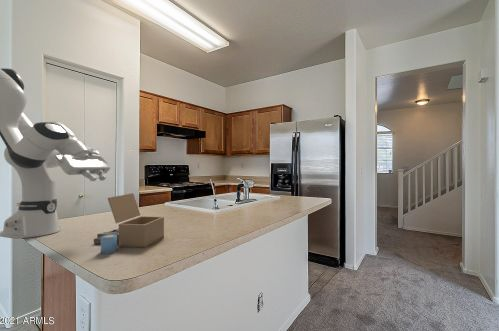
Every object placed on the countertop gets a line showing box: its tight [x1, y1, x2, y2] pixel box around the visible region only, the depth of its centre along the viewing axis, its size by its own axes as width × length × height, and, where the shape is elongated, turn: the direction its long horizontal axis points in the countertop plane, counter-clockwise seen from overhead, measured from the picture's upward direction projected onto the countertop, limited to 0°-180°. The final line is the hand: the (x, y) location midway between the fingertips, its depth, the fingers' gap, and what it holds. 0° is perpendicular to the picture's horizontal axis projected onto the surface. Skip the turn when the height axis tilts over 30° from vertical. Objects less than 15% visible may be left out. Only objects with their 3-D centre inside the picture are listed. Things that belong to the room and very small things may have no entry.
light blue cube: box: [100, 235, 118, 255], centre depth 84 cm, size 5×5×5 cm
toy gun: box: [93, 228, 119, 245], centre depth 103 cm, size 25×3×15 cm
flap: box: [107, 193, 141, 224], centre depth 97 cm, size 10×14×1 cm
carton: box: [118, 215, 165, 249], centre depth 96 cm, size 10×14×8 cm
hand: (99, 179), depth 98 cm, fingers open, 3 cm apart
